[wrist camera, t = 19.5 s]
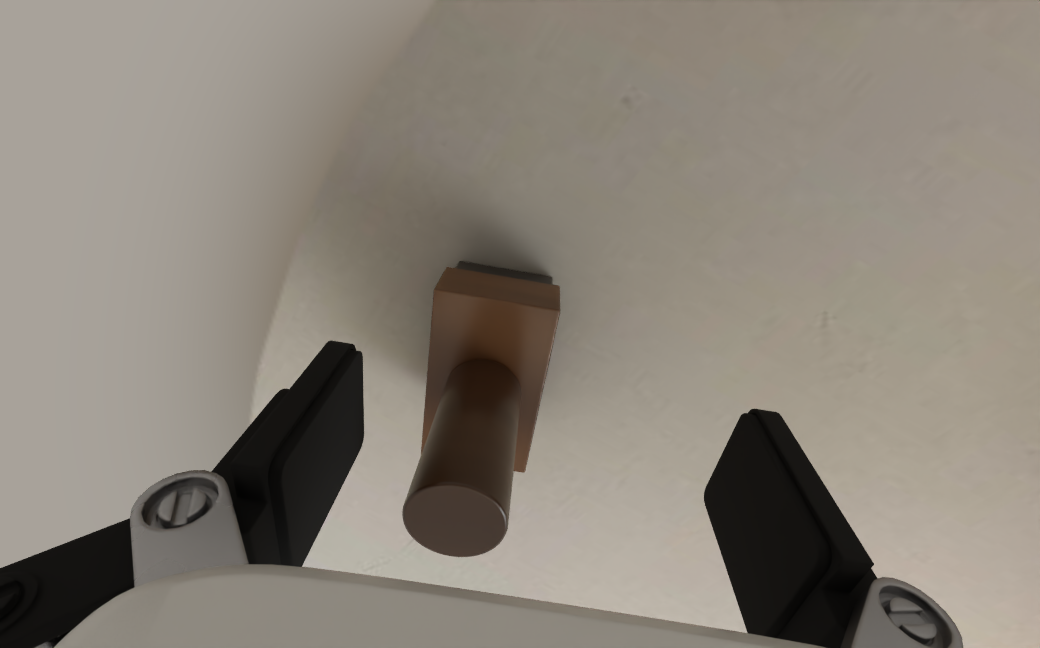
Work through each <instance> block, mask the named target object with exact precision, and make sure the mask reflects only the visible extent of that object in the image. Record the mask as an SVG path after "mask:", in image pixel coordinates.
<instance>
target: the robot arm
mask: <svg viewBox="0 0 1040 648" xmlns="http://www.w3.org/2000/svg"><path fill="white" fill-rule="evenodd" d="M363 438H364V409H363V356H362V352H361V351H356V348H355V345H353V344H349V343H343V342H336V341H328V342H327V343H326V345H325V346H324V347H323V348H322V350H321V351H320V352H319V353H318V355H317V356H316V357H315V358H314V359H313V361H312V362H311V363H310V364H309V366H308V367H307V368H306V369H305V371H304V372H303V373H302V374H301V376H300V377H299V378H298V379H297V381H296V382H295V383H294V384H293V386H292V387H291V388H290V389H282V390H280V391H279V392H278V393H277V394H276V395H275V396H274V397H273V398H272V400H271V401H270V402H269V403H268V404H267V406H266V407H265V408H264V409H263V410H262V412H261V413H260V414H259V415H258V416H257V418H256V419H255V420H254V421H253V422H252V424H251V425H250V426H249V427H248V428H247V430H246V431H245V432H244V433H243V434H242V436H241V437H240V438H239V439H238V440H237V442H236V443H235V444H234V445H233V446H232V448H231V449H230V450H229V451H228V453H227V454H226V455H225V456H224V457H223V458H222V460H221V461H220V462H219V463H218V464H217V466H216V467H215V468H214V469H213V471H212V472H209V471H205V470H194V471H187V472H182V473H177V474H175V475H172V476H170V477H167V478H165V479H162V480H161V481H159V482H157V483H156V484H154V485H152V486H151V487H149V488H148V489H147V490H146V491H145V492H144V493H143V494H142V495H141V496H140V497H139V498H138V499H137V501H136V502H135V504H134V506H133V507H132V510H131V516H130V519H127V520H124V521H122V522H119V523H117V524H114V525H111V526H109V527H106V528H104V529H101V530H98V531H96V532H93V533H91V534H88V535H86V536H83V537H80V538H78V539H75V540H72V541H70V542H67V543H65V544H62V545H60V546H57V547H55V548H52V549H49V550H47V551H44V552H42V553H39V554H36V555H34V556H31V557H28V558H26V559H23V560H21V561H18V562H15V563H13V564H10V565H8V566H5V567H3V568H0V648H963V643H962V637H961V635H960V633H959V631H958V629H957V627H956V625H955V623H954V622H953V621H952V619H951V618H950V617H949V615H948V614H947V613H946V612H945V611H944V610H943V609H942V608H941V607H940V606H939V605H938V604H937V603H936V602H935V601H934V600H933V599H932V598H930V597H929V596H927V595H926V594H925V593H923V592H922V591H921V590H919V589H917V588H915V587H914V586H912V585H910V584H908V583H906V582H903V581H900V580H897V579H894V578H886V577H882V578H879V579H877V577H876V575H875V574H874V572H873V571H872V569H871V567H872V566H873V565H874V563H873V562H872V560H871V559H870V557H869V555H868V554H867V552H866V551H865V549H864V547H863V546H862V544H861V543H860V541H859V539H858V538H857V536H856V535H855V533H854V531H853V530H852V528H851V527H850V525H849V523H848V522H847V520H846V519H845V517H844V515H843V514H842V512H841V511H840V509H839V507H838V506H837V504H836V503H835V501H834V499H833V498H832V496H831V495H830V493H829V492H828V490H827V488H826V487H825V485H824V484H823V482H822V480H821V479H820V477H819V476H818V474H817V472H816V471H815V469H814V468H813V466H812V464H811V463H810V461H809V460H808V458H807V456H806V455H805V453H804V452H803V450H802V448H801V447H800V445H799V444H798V442H797V440H796V439H795V437H794V436H793V434H792V432H791V431H790V429H789V428H788V426H787V424H786V423H785V421H784V420H783V418H782V416H781V415H780V414H779V413H777V412H772V411H765V410H759V409H751V410H750V411H749V412H748V414H747V413H744V414H742V415H741V417H740V418H739V420H738V422H737V424H736V427H735V429H734V431H733V433H732V435H731V437H730V439H729V441H728V443H727V445H726V447H725V449H724V451H723V453H722V455H721V457H720V459H719V461H718V464H717V466H716V468H715V470H714V472H713V474H712V476H711V478H710V480H709V482H708V484H707V486H706V489H705V492H704V502H705V506H706V509H707V512H708V515H709V518H710V521H711V524H712V527H713V530H714V533H715V536H716V539H717V542H718V545H719V548H720V551H721V554H722V557H723V560H724V563H725V566H726V569H727V572H728V575H729V578H730V581H731V584H732V587H733V590H734V593H735V596H736V599H737V602H738V605H739V608H740V611H741V614H742V617H743V620H744V623H745V626H746V629H747V632H748V633H743V632H736V631H730V630H724V629H718V628H711V627H705V626H699V625H693V624H686V623H680V622H674V621H668V620H661V619H655V618H649V617H643V616H636V615H630V614H623V613H617V612H611V611H604V610H598V609H591V608H585V607H578V606H572V605H565V604H559V603H552V602H546V601H539V600H533V599H526V598H520V597H513V596H507V595H500V594H493V593H487V592H480V591H473V590H467V589H460V588H453V587H446V586H440V585H433V584H426V583H419V582H413V581H406V580H399V579H392V578H386V577H378V576H370V575H363V574H355V573H348V572H340V571H332V570H325V569H317V568H308V567H302V565H303V563H304V561H305V559H306V557H307V555H308V553H309V551H310V549H311V547H312V545H313V543H314V541H315V539H316V537H317V535H318V533H319V531H320V529H321V527H322V525H323V523H324V521H325V519H326V517H327V515H328V513H329V511H330V509H331V507H332V505H333V503H334V501H335V499H336V497H337V495H338V493H339V491H340V489H341V487H342V485H343V483H344V481H345V479H346V477H347V475H348V473H349V471H350V469H351V467H352V465H353V463H354V461H355V459H356V457H357V455H358V453H359V451H360V449H361V446H362V443H363Z"/></svg>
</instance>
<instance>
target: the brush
mask: <svg viewBox="0 0 1040 648" xmlns="http://www.w3.org/2000/svg"><path fill="white" fill-rule="evenodd" d="M559 315H560V287H559V286H557V285H552V277H550V276H545V275H539V274H533V273H527V272H521V271H515V270H509V269H504V268H498V267H492V266H486V265H480V264H474V263H468V262H463V261H459V262H458V264H457V266H456V268H451V267H446V269H445V271H444V273H443V274H442V276H441V278H440V280H439V282H438V283H437V285H436V287H435V289H434V295H433V308H432V320H431V333H430V346H429V359H428V371H427V384H426V397H425V409H424V422H423V435H422V447H421V457H420V460H419V463H418V466H417V469H416V472H415V475H414V477H413V480H412V483H411V486H410V489H409V492H408V495H407V498H406V500H405V503H404V506H403V521H404V524H405V527H406V529H407V531H408V532H409V534H410V535H411V536H412V537H413V538H414V539H415V540H416V541H417V542H418V543H420V544H421V545H422V546H424V547H426V548H428V549H430V550H431V551H434V552H437V553H440V554H443V555H448V556H454V557H470V556H476V555H480V554H483V553H486V552H488V551H490V550H492V549H493V548H495V547H496V546H497V545H498V544H499V543H500V542H501V541H502V539H503V538H504V536H505V534H506V532H507V529H508V520H509V510H510V501H511V491H512V481H513V471H517V472H525V470H526V465H527V460H528V456H529V451H530V447H531V442H532V438H533V433H534V429H535V424H536V420H537V415H538V410H539V406H540V401H541V397H542V392H543V388H544V383H545V379H546V374H547V370H548V365H549V361H550V356H551V351H552V347H553V342H554V338H555V333H556V329H557V324H558V320H559Z"/></svg>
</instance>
